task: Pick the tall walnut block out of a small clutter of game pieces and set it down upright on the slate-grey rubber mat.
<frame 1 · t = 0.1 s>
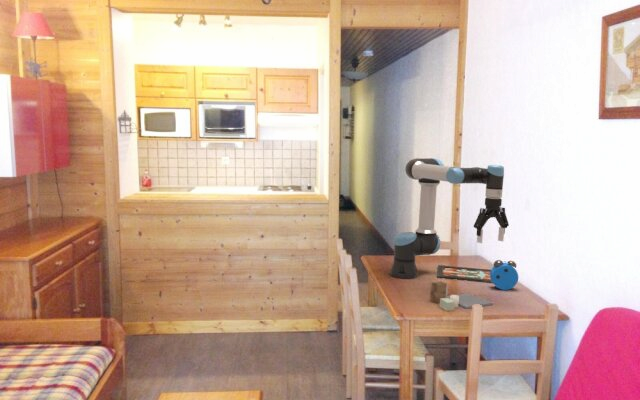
hand: (490, 241, 256), 28 cm above the table, fingers open, 13 cm apart
painting: (468, 276, 303), on the table
grey cube: (441, 295, 263), on the table
alarm clock: (502, 289, 278), on the table
walnut block: (437, 301, 253), on the table
grey mat: (467, 301, 254), on the table
cream cylinder: (453, 306, 246), on the table
sage block: (446, 308, 243), on the table
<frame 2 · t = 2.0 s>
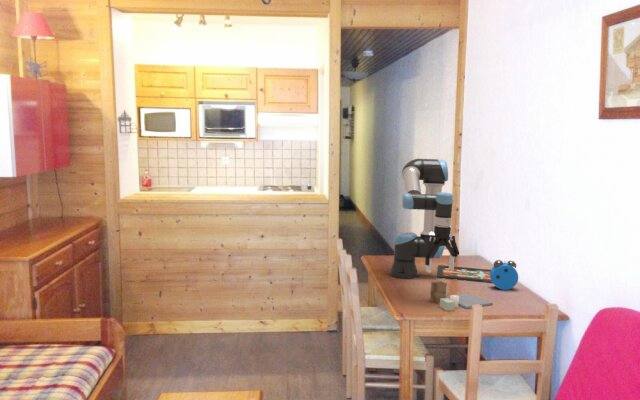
hand: (439, 270, 251), 15 cm above the table, fingers open, 13 cm apart
nothing on the table moved.
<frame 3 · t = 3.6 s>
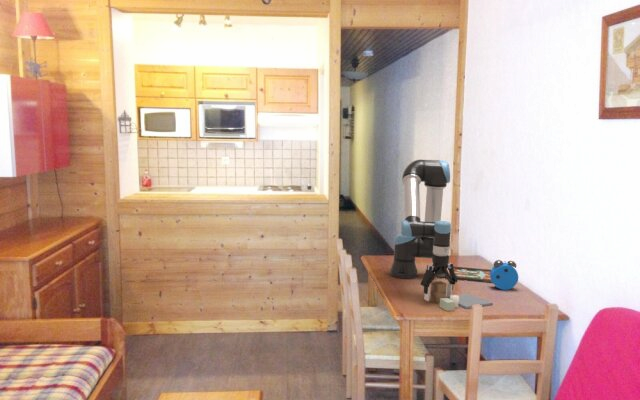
hand: (438, 298, 253), 1 cm above the table, fingers open, 13 cm apart
nothing on the table moved.
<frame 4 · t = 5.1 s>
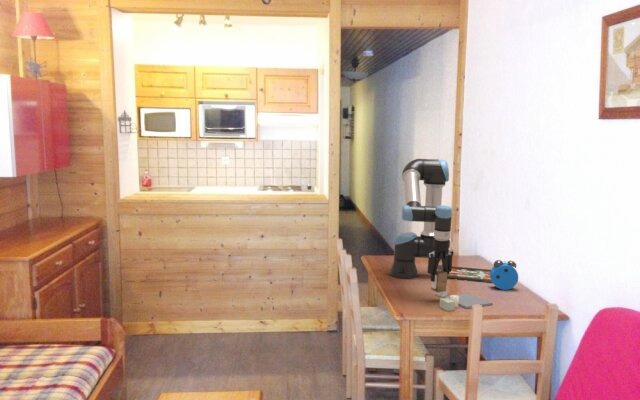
hand: (438, 287, 253), 7 cm above the table, fingers closed on walnut block, 5 cm apart
walnut block: (438, 290, 253), point 5 cm above the table, touching gripper
everything else where it was.
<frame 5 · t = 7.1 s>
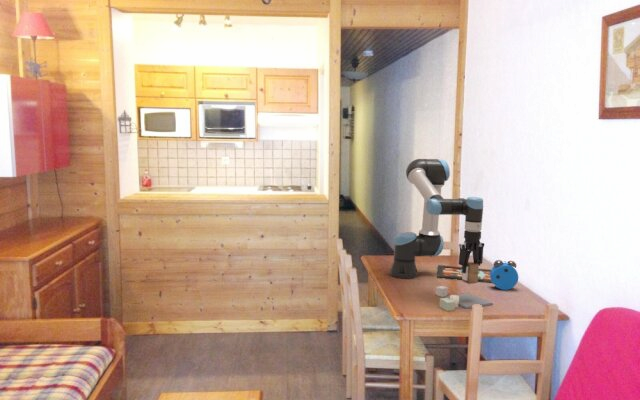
hand: (469, 279, 252), 11 cm above the table, fingers closed on walnut block, 5 cm apart
walnut block: (469, 282, 252), point 10 cm above the table, touching gripper
everything else where it was.
when the fingers open (2 cm above the table, at t = 9.3 s): walnut block stays where it is, resting on grey mat.
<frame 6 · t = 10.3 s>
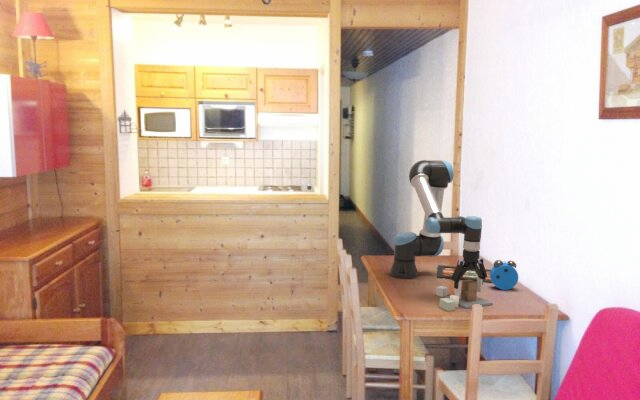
hand: (468, 293, 253), 4 cm above the table, fingers open, 13 cm apart
walnut block: (468, 299, 253), point 1 cm above the table, touching grey mat
everything else where it was.
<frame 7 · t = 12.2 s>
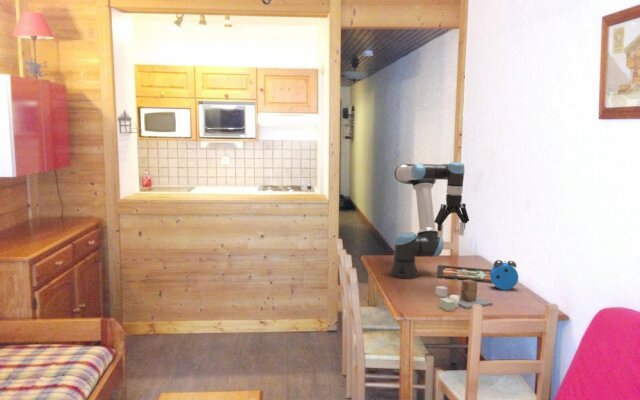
hand: (450, 236, 267), 28 cm above the table, fingers open, 13 cm apart
nothing on the table moved.
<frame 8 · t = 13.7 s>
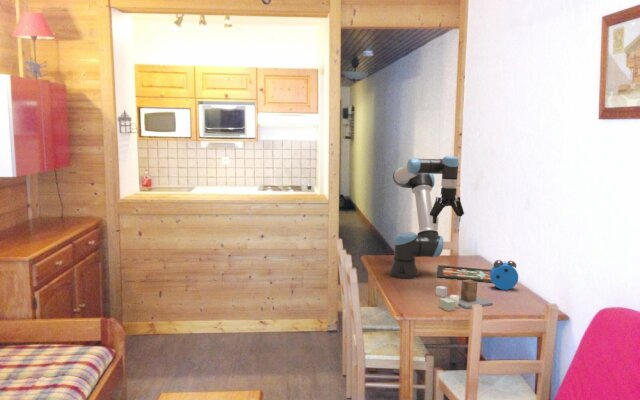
hand: (446, 229, 270), 31 cm above the table, fingers open, 13 cm apart
nothing on the table moved.
at the end: walnut block inside the target area (0.3 cm from its centre), point 1.0 cm above the table; walnut block tilted 0°; the gripper is holding nothing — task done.
